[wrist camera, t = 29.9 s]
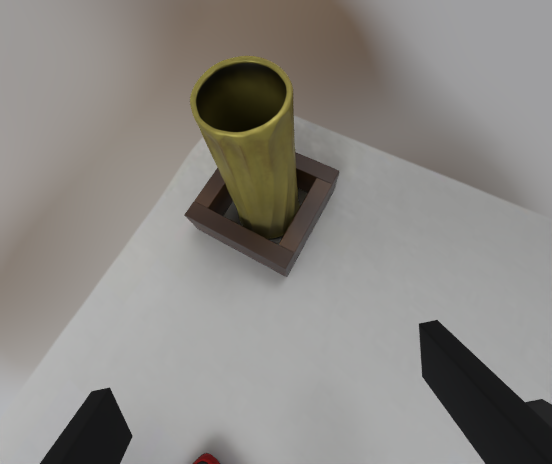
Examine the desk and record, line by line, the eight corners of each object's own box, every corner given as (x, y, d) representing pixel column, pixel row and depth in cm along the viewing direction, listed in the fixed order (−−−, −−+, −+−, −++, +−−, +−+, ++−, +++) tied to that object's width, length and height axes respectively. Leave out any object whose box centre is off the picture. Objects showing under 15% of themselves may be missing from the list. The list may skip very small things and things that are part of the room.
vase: (230, 230, 27) (160, 130, 13) (249, 177, 28) (206, 41, 15) (290, 246, 26) (282, 155, 12) (306, 190, 27) (315, 57, 14)
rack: (249, 152, 29) (243, 130, 26) (334, 189, 27) (339, 170, 24) (197, 228, 27) (184, 214, 24) (286, 277, 25) (285, 269, 21)
